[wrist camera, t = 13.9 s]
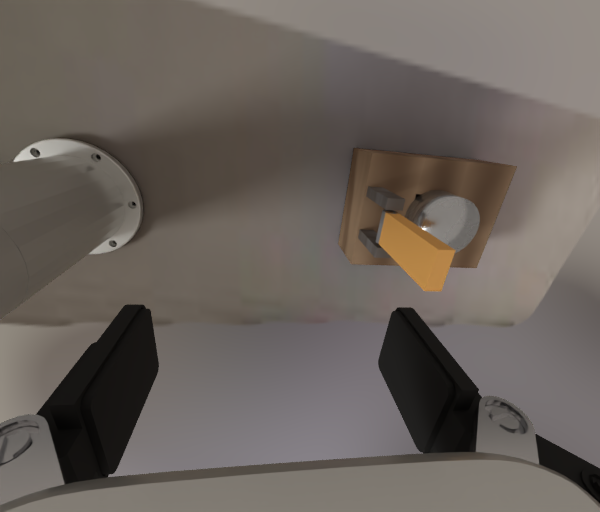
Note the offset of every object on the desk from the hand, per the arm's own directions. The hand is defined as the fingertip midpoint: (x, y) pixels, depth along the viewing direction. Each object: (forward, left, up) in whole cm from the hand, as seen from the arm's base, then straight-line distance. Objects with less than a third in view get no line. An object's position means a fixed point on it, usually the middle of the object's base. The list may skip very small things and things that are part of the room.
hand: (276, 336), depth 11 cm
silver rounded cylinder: (+18, 0, -24) cm, 30 cm away
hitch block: (+18, 0, -25) cm, 31 cm away
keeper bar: (+11, 0, -11) cm, 16 cm away
